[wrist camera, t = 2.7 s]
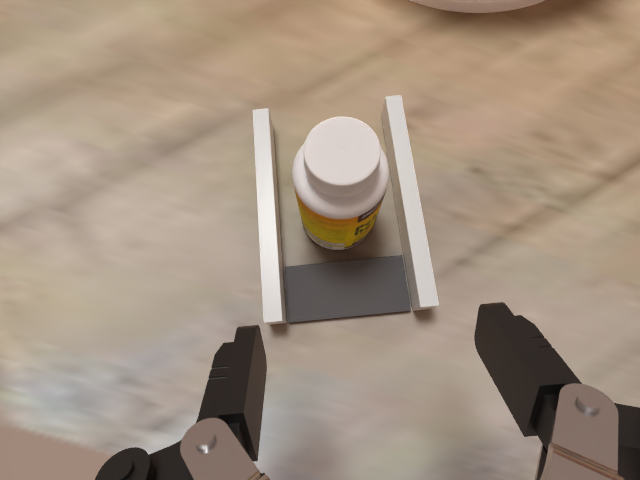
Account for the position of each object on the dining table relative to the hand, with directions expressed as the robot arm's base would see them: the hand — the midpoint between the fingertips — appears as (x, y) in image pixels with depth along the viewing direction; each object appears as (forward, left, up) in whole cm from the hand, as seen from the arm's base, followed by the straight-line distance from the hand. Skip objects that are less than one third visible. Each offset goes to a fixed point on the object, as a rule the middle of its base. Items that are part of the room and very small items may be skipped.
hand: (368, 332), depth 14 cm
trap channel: (-7, +7, -13) cm, 17 cm away
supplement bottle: (-6, +6, -13) cm, 16 cm away
